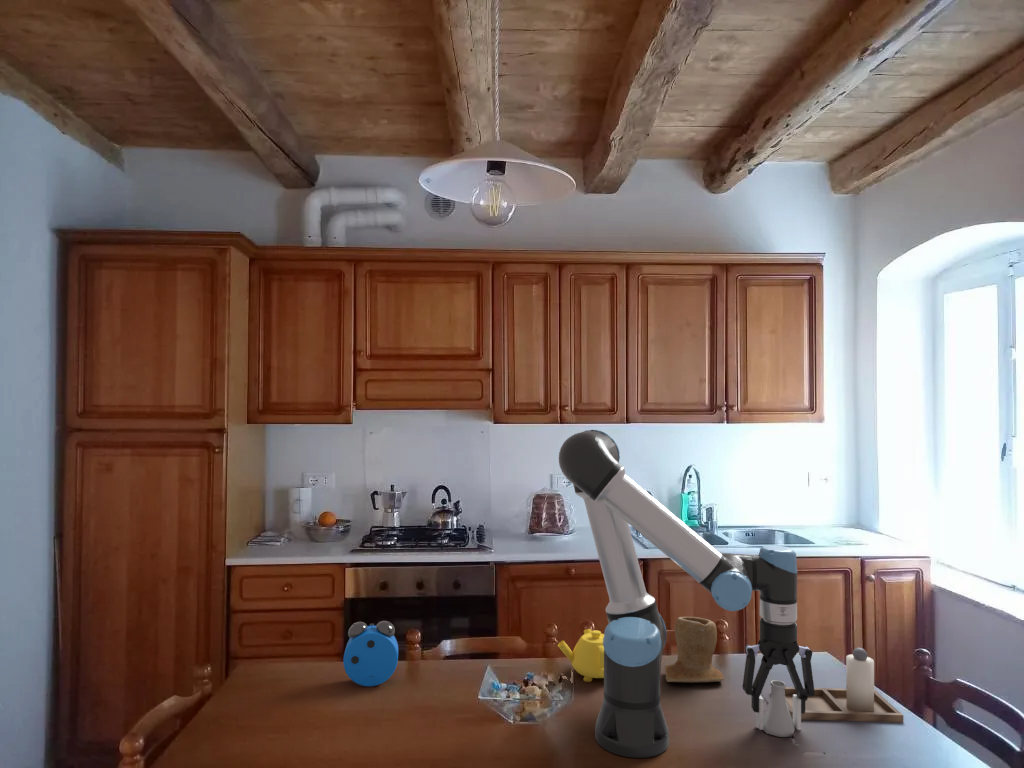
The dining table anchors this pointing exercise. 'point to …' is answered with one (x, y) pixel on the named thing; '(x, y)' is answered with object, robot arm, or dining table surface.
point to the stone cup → (694, 652)
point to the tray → (841, 707)
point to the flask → (778, 713)
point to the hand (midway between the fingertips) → (778, 727)
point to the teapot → (587, 655)
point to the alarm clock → (371, 653)
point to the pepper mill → (860, 681)
